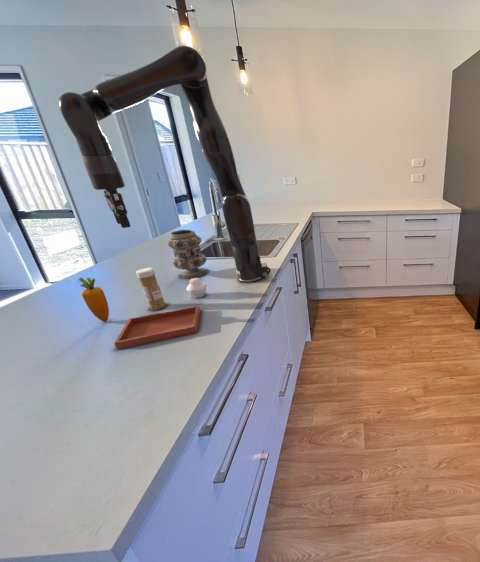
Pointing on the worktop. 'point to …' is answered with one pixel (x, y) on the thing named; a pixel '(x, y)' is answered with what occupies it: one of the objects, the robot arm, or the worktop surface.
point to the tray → (158, 327)
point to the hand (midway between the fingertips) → (124, 225)
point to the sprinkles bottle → (151, 288)
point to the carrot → (95, 299)
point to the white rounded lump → (196, 288)
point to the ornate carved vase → (187, 253)
